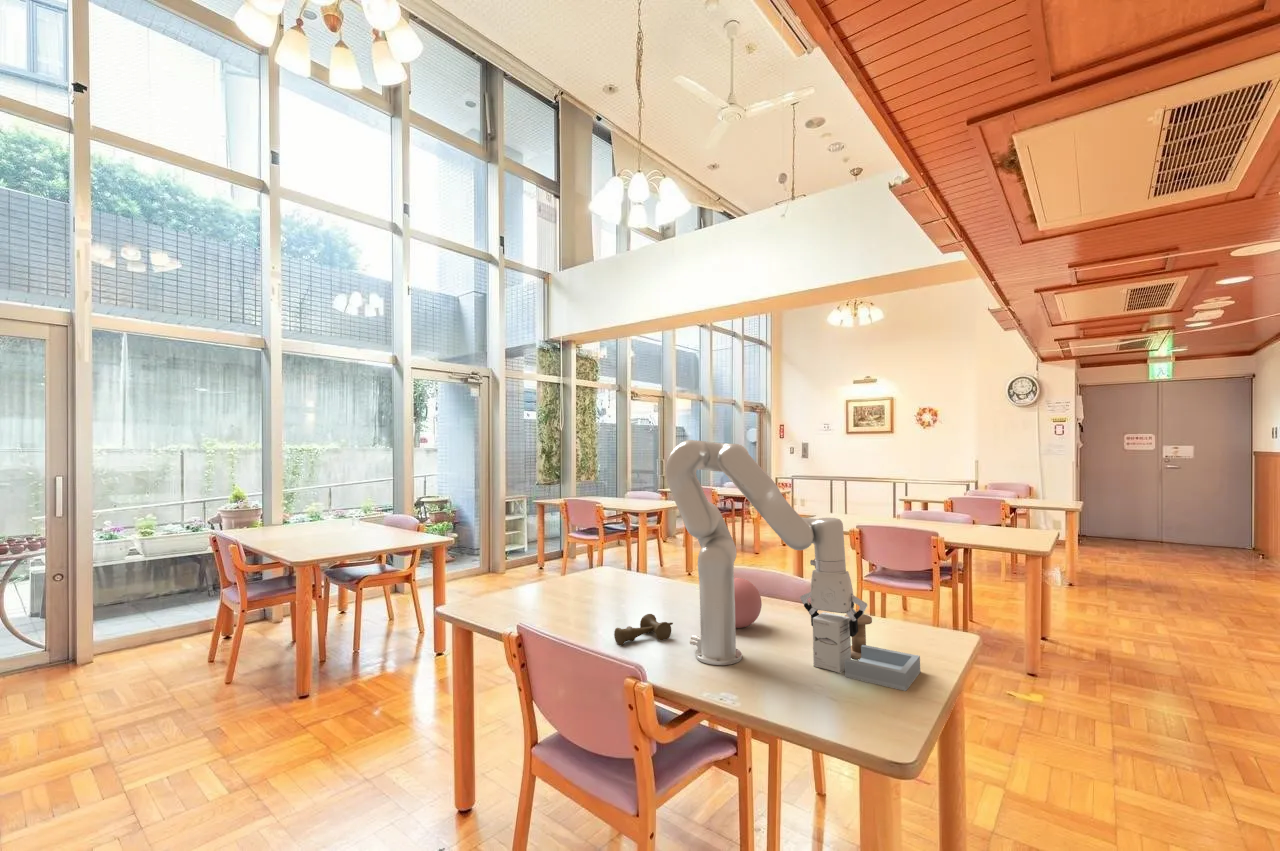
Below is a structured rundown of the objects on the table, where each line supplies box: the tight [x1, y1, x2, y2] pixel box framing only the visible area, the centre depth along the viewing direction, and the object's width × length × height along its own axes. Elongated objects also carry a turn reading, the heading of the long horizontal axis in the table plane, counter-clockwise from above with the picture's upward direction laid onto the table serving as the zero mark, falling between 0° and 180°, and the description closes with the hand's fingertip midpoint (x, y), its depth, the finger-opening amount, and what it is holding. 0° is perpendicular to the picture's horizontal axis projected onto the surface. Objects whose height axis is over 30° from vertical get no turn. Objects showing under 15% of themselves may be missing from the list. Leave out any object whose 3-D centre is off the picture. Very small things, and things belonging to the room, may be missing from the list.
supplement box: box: [812, 611, 852, 674], centre depth 148 cm, size 7×7×13 cm
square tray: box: [844, 644, 921, 692], centre depth 142 cm, size 14×14×4 cm
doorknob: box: [844, 613, 873, 660], centre depth 156 cm, size 8×8×10 cm
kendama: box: [613, 613, 674, 646], centre depth 172 cm, size 6×10×20 cm
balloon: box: [734, 577, 763, 629], centre depth 184 cm, size 15×20×15 cm
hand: (834, 632), depth 148 cm, fingers open, 9 cm apart
